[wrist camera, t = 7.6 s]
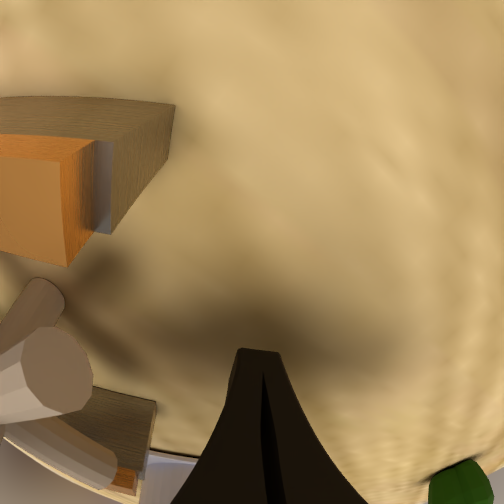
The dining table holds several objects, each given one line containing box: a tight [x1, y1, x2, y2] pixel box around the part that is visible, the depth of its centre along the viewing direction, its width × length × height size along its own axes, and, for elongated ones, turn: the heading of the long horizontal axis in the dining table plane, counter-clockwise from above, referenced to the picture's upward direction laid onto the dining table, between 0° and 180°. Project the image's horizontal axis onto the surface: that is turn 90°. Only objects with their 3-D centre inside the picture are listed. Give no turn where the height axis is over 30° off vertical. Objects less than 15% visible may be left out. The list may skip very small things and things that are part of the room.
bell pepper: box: [428, 460, 494, 504], centre depth 23 cm, size 8×8×10 cm
